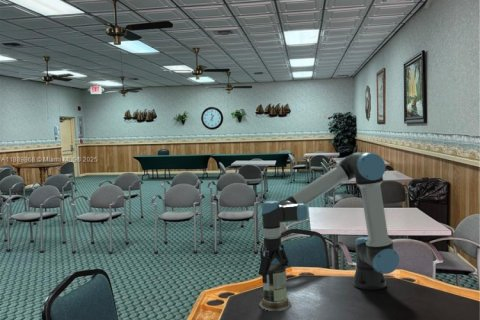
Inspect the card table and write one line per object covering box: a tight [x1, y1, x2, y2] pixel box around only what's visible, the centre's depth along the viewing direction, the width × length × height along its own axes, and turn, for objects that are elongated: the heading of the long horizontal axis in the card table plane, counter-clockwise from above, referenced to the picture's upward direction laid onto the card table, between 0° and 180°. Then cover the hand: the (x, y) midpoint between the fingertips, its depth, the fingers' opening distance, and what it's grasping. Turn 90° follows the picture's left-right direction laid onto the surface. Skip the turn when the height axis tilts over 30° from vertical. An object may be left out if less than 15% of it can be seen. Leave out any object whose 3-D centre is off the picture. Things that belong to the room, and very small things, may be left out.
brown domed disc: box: [258, 297, 292, 312], centre depth 191 cm, size 14×14×3 cm
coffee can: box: [263, 263, 288, 303], centre depth 190 cm, size 10×10×14 cm
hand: (275, 285), depth 190 cm, fingers open, 13 cm apart
